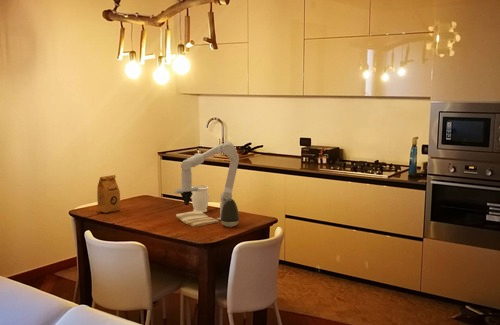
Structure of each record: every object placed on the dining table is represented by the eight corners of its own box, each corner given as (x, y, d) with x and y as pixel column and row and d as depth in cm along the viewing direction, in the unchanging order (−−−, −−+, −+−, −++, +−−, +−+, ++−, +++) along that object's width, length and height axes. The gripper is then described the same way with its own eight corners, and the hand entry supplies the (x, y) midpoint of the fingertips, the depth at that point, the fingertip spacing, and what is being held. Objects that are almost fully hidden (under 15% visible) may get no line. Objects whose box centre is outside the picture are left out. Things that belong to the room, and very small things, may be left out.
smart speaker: (231, 222, 291) (231, 195, 289) (243, 226, 283) (243, 199, 281) (216, 225, 285) (216, 198, 283) (227, 229, 277) (227, 201, 275)
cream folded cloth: (208, 218, 299) (208, 216, 299) (184, 223, 289) (184, 221, 289) (199, 211, 306) (199, 210, 305) (175, 216, 295) (176, 214, 295)
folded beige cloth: (218, 222, 292) (218, 220, 291) (195, 226, 281) (195, 224, 281) (209, 219, 298) (209, 217, 298) (185, 223, 288) (185, 221, 288)
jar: (200, 214, 310) (200, 189, 308) (188, 211, 316) (187, 187, 314) (212, 210, 318) (212, 186, 316) (199, 208, 325) (199, 184, 322)
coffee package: (123, 211, 317) (121, 175, 314) (105, 214, 308) (103, 177, 304) (113, 208, 323) (112, 173, 320) (95, 211, 314) (94, 175, 311)
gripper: (193, 179, 301) (193, 201, 303) (171, 181, 292) (171, 205, 294) (200, 180, 296) (200, 204, 298) (178, 183, 287) (178, 207, 289)
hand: (186, 204), depth 296 cm, fingers closed
